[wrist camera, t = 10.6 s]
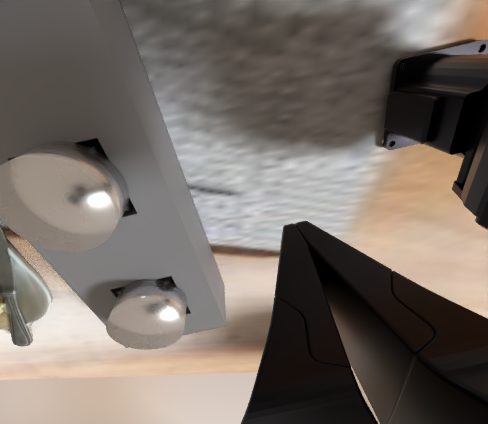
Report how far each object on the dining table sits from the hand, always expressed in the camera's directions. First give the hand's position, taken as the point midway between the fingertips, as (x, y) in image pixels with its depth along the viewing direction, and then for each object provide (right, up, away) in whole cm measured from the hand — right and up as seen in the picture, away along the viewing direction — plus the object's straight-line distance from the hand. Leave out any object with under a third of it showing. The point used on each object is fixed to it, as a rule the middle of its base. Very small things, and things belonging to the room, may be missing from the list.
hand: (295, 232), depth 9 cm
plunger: (-10, -4, +15) cm, 19 cm away
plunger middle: (-12, +5, +9) cm, 16 cm away
